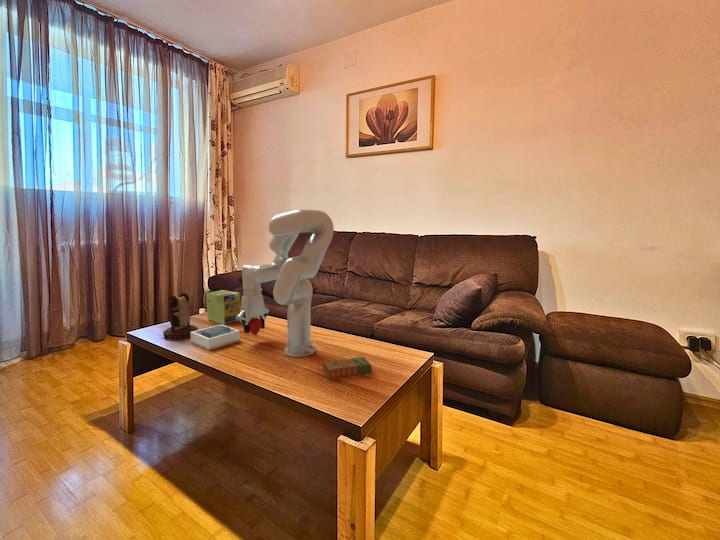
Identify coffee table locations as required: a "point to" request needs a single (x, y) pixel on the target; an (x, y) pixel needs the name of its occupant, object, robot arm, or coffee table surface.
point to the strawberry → (255, 325)
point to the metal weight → (215, 331)
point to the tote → (215, 339)
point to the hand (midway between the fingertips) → (254, 330)
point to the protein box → (223, 306)
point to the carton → (346, 368)
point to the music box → (180, 323)
